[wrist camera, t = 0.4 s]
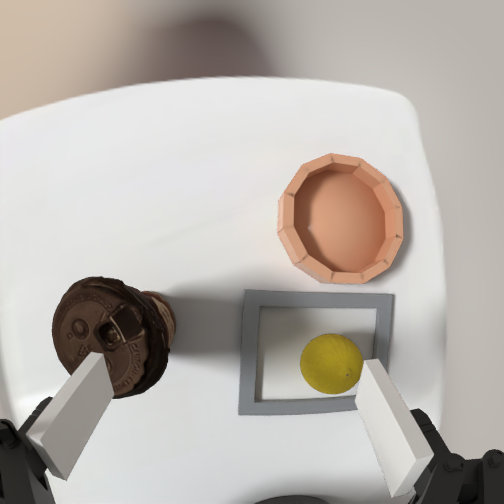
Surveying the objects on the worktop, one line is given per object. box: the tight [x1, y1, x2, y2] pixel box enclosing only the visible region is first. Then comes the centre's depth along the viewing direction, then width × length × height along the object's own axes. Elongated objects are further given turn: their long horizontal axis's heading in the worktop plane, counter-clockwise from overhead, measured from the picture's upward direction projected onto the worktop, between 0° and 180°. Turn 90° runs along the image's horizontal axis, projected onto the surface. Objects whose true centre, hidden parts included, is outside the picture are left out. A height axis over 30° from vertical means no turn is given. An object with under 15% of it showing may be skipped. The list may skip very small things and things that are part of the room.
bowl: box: [277, 153, 403, 284], centre depth 30 cm, size 13×13×3 cm
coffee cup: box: [52, 276, 176, 399], centre depth 22 cm, size 9×8×13 cm
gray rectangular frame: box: [238, 289, 392, 415], centre depth 29 cm, size 13×16×1 cm
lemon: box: [300, 334, 363, 394], centre depth 26 cm, size 6×6×8 cm
